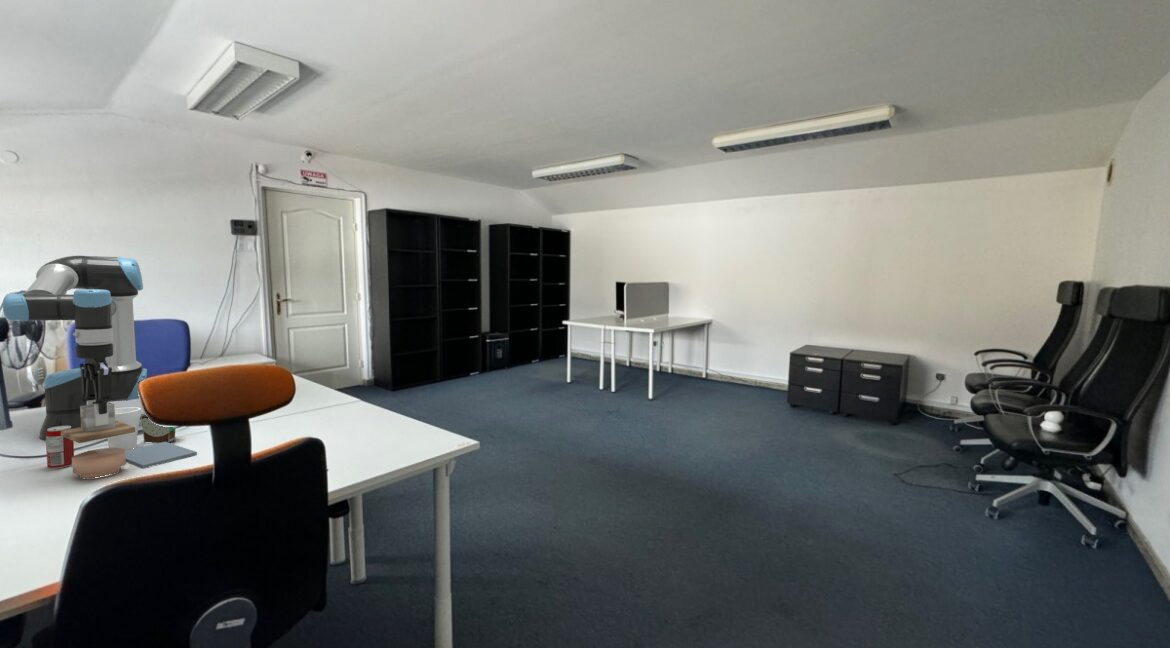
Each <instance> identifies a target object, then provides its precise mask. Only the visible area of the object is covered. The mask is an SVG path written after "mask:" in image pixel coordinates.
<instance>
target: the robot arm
mask: <svg viewBox="0 0 1170 648" xmlns="http://www.w3.org/2000/svg"><path fill="white" fill-rule="evenodd" d="M35 278H36V279H35V280H34V281H33V282H32V284H31V285H30V286H29V287H28V288H27V289H26V291H25V292H24V293H8V294H6V295H5V296H4V297H3V301H2V310H3V314H4V317H5V319H7V320H9V321H15V322H16V321H19V322H20V321H21V322H33V321H35V322H37V321H40V322H41V321H42V322H43V321H74V332H73V333H72V336H73V337H75V343H77V344H76V346H75V356H76V358H78V359H84V362H83V363H79V367H78V368H71V369H70V368H69V369H64V370H60V371H55V372H52V373H50V374H48V375H47V376H45V377H44V387H43V389H44V394H45V395H44V400H45V418H44V420H43V423H42V425H41V428H40V430H39V439H41V440H45V441H46V432H47V429H49V428H52V427H58V426H71V428H78V427H81V414H80V406H86V405H92V404H94V414H95V426H99V425H105V424H109V419H108V402H109V403H111V402H124V401H125V402H128V401H132V400H139V396H138V392H137V385H138V382H139V381H141V380H143V379H146V380H147V376H148V369H147V368H144V367H142V366H143V365H142V364H143V363H141V362H140V361H138V360H137V355H136V354H137V353H136V336H135V320H134V318H135V317H134V299H135V298H136V297H137V296H138V295H139V291H143V290H144V283H143V277H142V273H141V268H140V266H139V263H138V261H136V259H134V258H131V257H130V258H128V257H121V256H99V255H98V256H97V255H96V256H95V255H89V256H88V255H69V256H63V257H60V258H56V259H53V260H51V261H49V262H46V263H45V264H43V265H42V266H40V267H39V268H38V269H37V272H36V273H35ZM70 290H74V291H73V294H67V293H68V291H70Z"/></svg>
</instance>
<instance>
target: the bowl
mask: <svg viewBox="0 0 1170 648" xmlns="http://www.w3.org/2000/svg"><path fill="white" fill-rule="evenodd" d="M126 464H127V462H126V454H125V449H124V448H109V447H106V448H105V447H104V448H96V449H92V450H87V451H83V452H80V453H77V454H74V456H73V457H72V465H71V467H72V474H74V475H80V477H81V478H85V479H84V480H88V479H87V478H95V477H100V476H105V475H109V474H113V475H115V474H114V473H116V474H118V473H119V472H120V468H121V467H123V466H125V465H126ZM117 472H118V473H117ZM81 478H80V479H81Z"/></svg>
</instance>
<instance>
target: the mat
mask: <svg viewBox="0 0 1170 648" xmlns="http://www.w3.org/2000/svg"><path fill="white" fill-rule="evenodd" d="M197 453H198V452H197V451H195V450H192V449H189V448H187V447H183V446H179V445H177V444H175V443H168V442H161V443H151V444H148V445H143V446H139V447H136V448H134V449H129V450H125V454H126V463H128V464H130V465H133V466H136V467H139V468H140V469H147V468H150V467H149V466H151V467H153V466H152V465H155V466H158V465H157V464H159V465H162V463H163V464H166V463H170V462H171V463H172V462H174V461H178V460H181V459H186V458H190V457H194V456H197ZM146 467H147V468H146Z"/></svg>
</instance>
